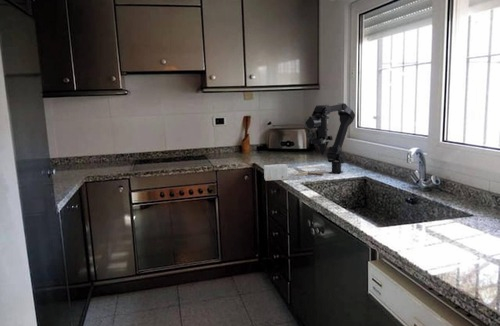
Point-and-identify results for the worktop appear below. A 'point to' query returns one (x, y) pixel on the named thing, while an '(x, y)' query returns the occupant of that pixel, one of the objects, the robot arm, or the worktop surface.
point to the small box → (275, 172)
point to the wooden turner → (308, 173)
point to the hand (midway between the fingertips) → (322, 154)
